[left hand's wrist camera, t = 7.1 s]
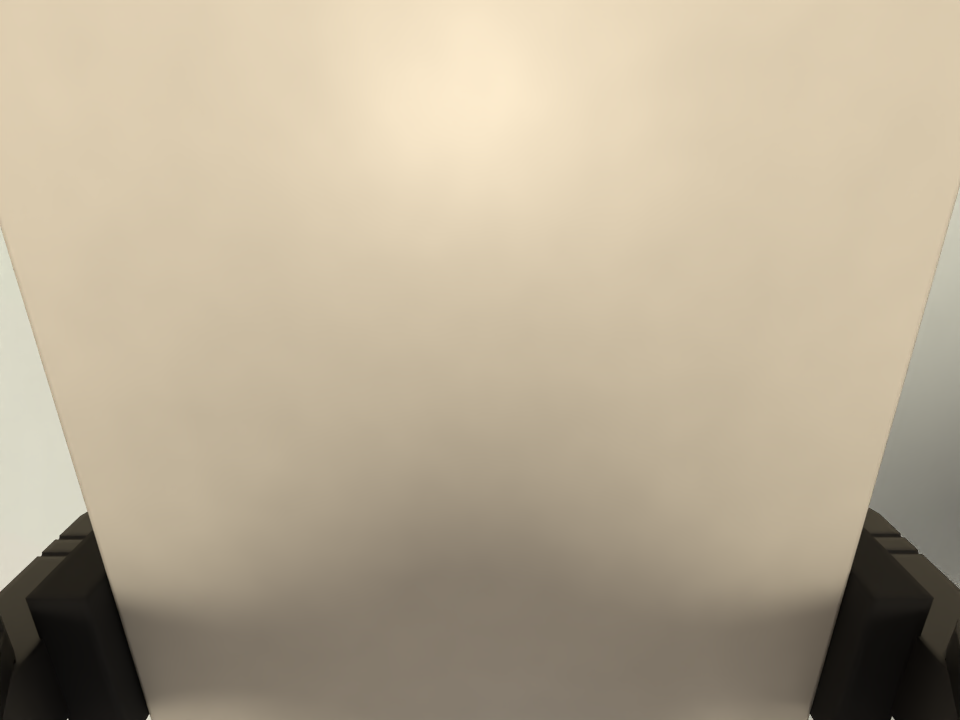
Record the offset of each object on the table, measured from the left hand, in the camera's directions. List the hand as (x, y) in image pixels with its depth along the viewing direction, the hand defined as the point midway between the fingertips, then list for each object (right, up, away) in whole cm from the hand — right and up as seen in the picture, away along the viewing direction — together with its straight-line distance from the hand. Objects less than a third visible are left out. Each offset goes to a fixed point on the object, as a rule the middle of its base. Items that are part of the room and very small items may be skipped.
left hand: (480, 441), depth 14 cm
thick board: (0, +26, -10) cm, 28 cm away
